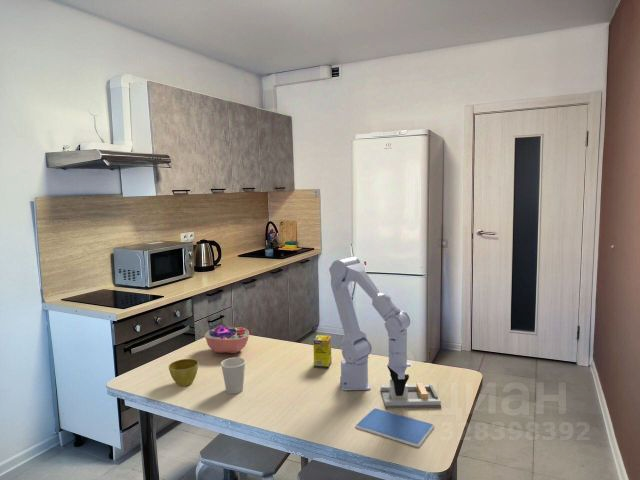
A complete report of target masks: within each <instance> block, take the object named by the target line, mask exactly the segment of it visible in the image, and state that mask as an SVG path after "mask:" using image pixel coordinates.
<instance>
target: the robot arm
mask: <svg viewBox="0 0 640 480" xmlns="http://www.w3.org/2000/svg"><path fill="white" fill-rule="evenodd" d="M328 270H329V274H330V287H331V290H332V295H333V298H334V301H335V306H336V308H337V312H338V315H339V319H340V323H341V325H342V326H341V327H342V330H343V332H344V335H343V337H342V340H341V342H340V344H341V355H342V358H343V359H342V360H340V377H339V378H340V379H339V381H340V382H341V383H340V384H341V391H363V390H364V391H368V390H371V387H370V386H371V385H370V382H369V366H368V364H369V362H368V361H369V360H368V359H369V355H370V354H371V352H372V351H373V349H372V348H373V347H372V344H371V342H370V340H369V339H368V337H367V334H366V333H365V332H363V331H362V330H361V327H360V325H359V322H358V321H359V320H358V318H357V315H356V311H355V308H354V305H353V304H354V303H353V301H352V300H353V299H352V296H351V293H350V290H349V284H350V283H351V282H355V283H357V284H358V286H359V287H360V288H361V289H362V290H363V291H364V292H365V293H366V294H367V296H368V297H370V299H371V302H372V303H371V306H372V307H373V308H374V309H375V311H376V313H378V314H379V316H380V317H381V318H382V320H383V321H384V323H383V324H384V327H385V330H386V331H387V336H388V364H387V366H386V367H387V369H388V371H389V375H390V379H392V380H393V383H394V388H395V393H396V396H403V393H404V388H405V385H406V383H407V382H408V380H409V378H410V376H409V374H406V371H407V369H408V368H410V367H411V366H412V364H411V362H408V353H407V352H408V344H407V343H408V328H409V327H410V324H411V319H410V316H409V315H408V313H407V312H406V311H404V310H401V309H400V308H399V307H398V306H396V304H395V303H394V302H393V300H392V298H391V297H390V295H387V294H386V293H383V292H380V290H379V289H378V287H377V286H376V285H375V283H374V282H373V280H372V279H371V278H370V276H369V274H368V273H367V271H366V270H365V265H364V264H363V263H362V262H361V261H360V259H359V258H358V257H356V256H350V257H347V258H342V259H336V260H334V261H333V262H332V263H331V264H330V267H329V269H328Z"/></svg>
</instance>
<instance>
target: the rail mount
mask: <svg viewBox="0 0 640 480" xmlns="http://www.w3.org/2000/svg"><path fill="white" fill-rule="evenodd" d="M423 385H424V387H425V389H426V391H427V393H428V399H420V397H419V395H418V392H417V390H416V384H407V386H408V399H391V395H390V384H382V385H380V392H381V396H382V400H383V405H384V407H385V409H423V408H427V409H428V408H430V409H431V408H433V409H434V408H442V402H441V401H442V400H441V399H440V398H439V396H438V395H437V392H436V390H435V389H434V386H433V384H432V383H431V384H423Z"/></svg>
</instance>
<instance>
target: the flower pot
mask: <svg viewBox="0 0 640 480" xmlns="http://www.w3.org/2000/svg"><path fill="white" fill-rule="evenodd" d="M198 368H199V361H198V360H197V359H194V358H181V359H178V360H175V361H172V362H171V363H169V365H168V370H169V373H170V376H171V378H172V380H173V381H174V382H175V384H176V385H177V386H178V387H188V386H191V385H192V384H193V382H194V380H195V378H196V375H197V373H198V370H199V369H198Z"/></svg>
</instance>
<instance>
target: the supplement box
mask: <svg viewBox="0 0 640 480" xmlns="http://www.w3.org/2000/svg"><path fill="white" fill-rule="evenodd" d="M312 344H313V368H317V369H319V368H320V369H330V366H331V364H332V359H333V358H332V336H331V335H324V334H323V335H321V334H320V335H319V334H317V335H316V336H315V337H314V339H313V340H312Z"/></svg>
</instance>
